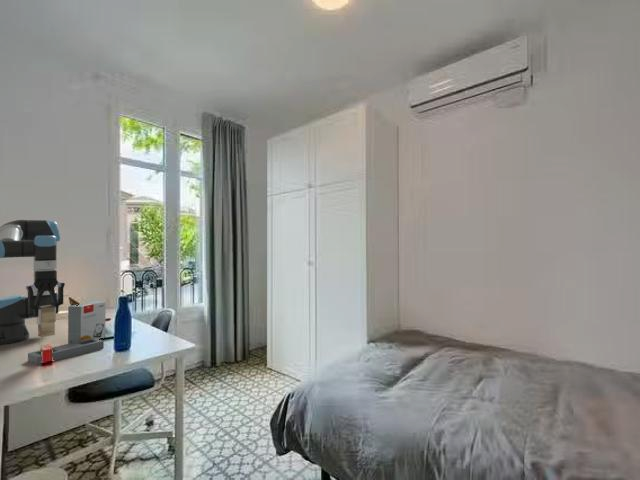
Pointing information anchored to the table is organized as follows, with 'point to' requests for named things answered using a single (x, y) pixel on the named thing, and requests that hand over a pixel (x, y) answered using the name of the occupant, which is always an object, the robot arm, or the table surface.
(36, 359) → the socket strip
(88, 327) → the hard drive box
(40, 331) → the plug
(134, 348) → the table surface
